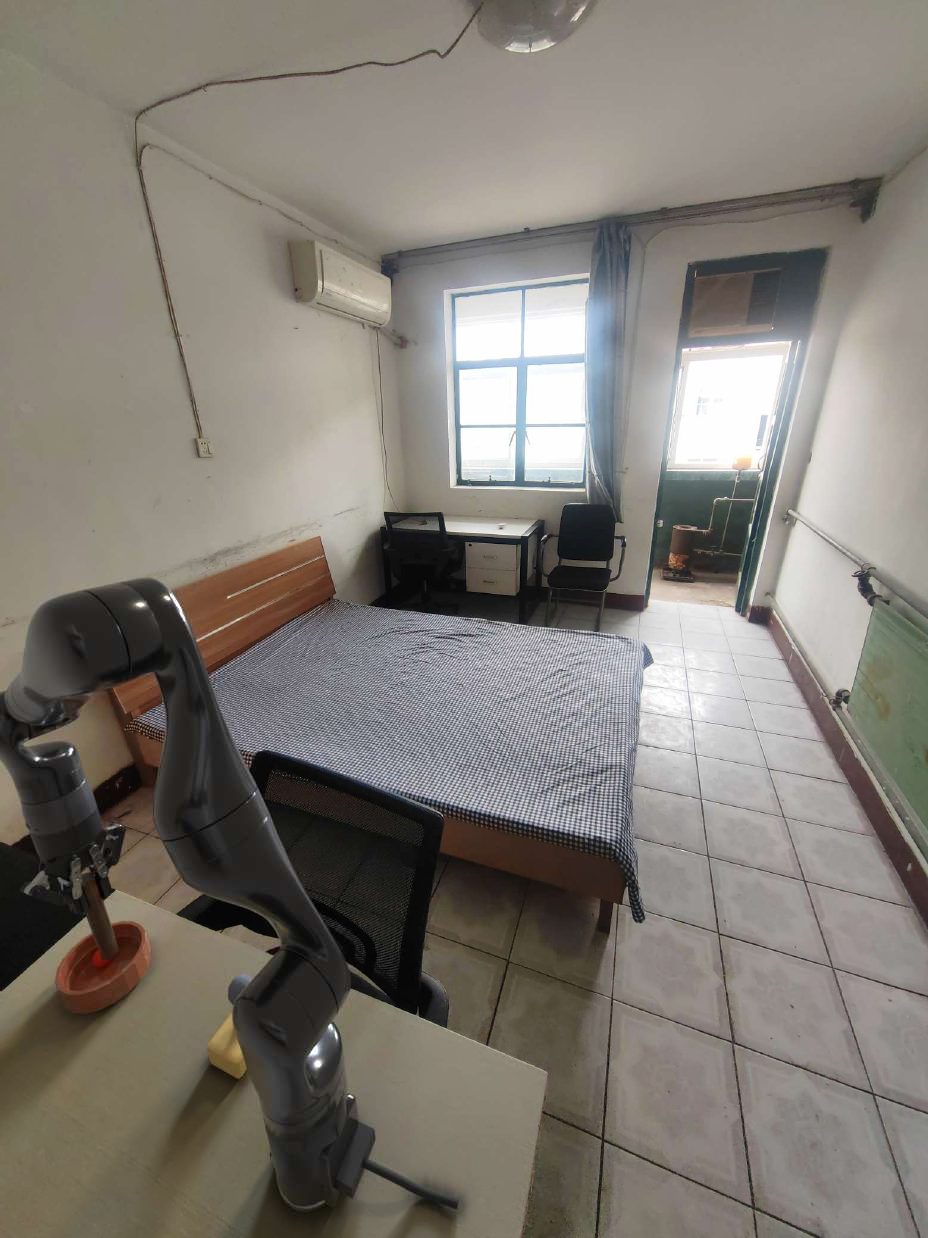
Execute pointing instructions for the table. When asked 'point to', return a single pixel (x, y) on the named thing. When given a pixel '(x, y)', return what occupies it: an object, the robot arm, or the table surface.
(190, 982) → the table surface
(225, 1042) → the rubber stamp
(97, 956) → the ball
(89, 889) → the stick
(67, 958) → the bowl
